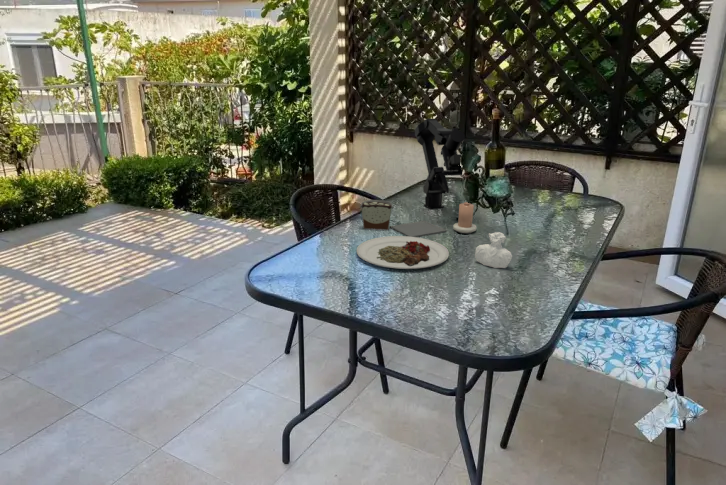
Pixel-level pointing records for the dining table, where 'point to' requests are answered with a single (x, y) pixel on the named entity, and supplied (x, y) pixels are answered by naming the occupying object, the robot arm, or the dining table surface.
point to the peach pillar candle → (465, 215)
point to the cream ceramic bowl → (464, 230)
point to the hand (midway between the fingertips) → (459, 191)
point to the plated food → (402, 252)
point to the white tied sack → (494, 252)
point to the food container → (376, 214)
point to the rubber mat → (417, 229)
